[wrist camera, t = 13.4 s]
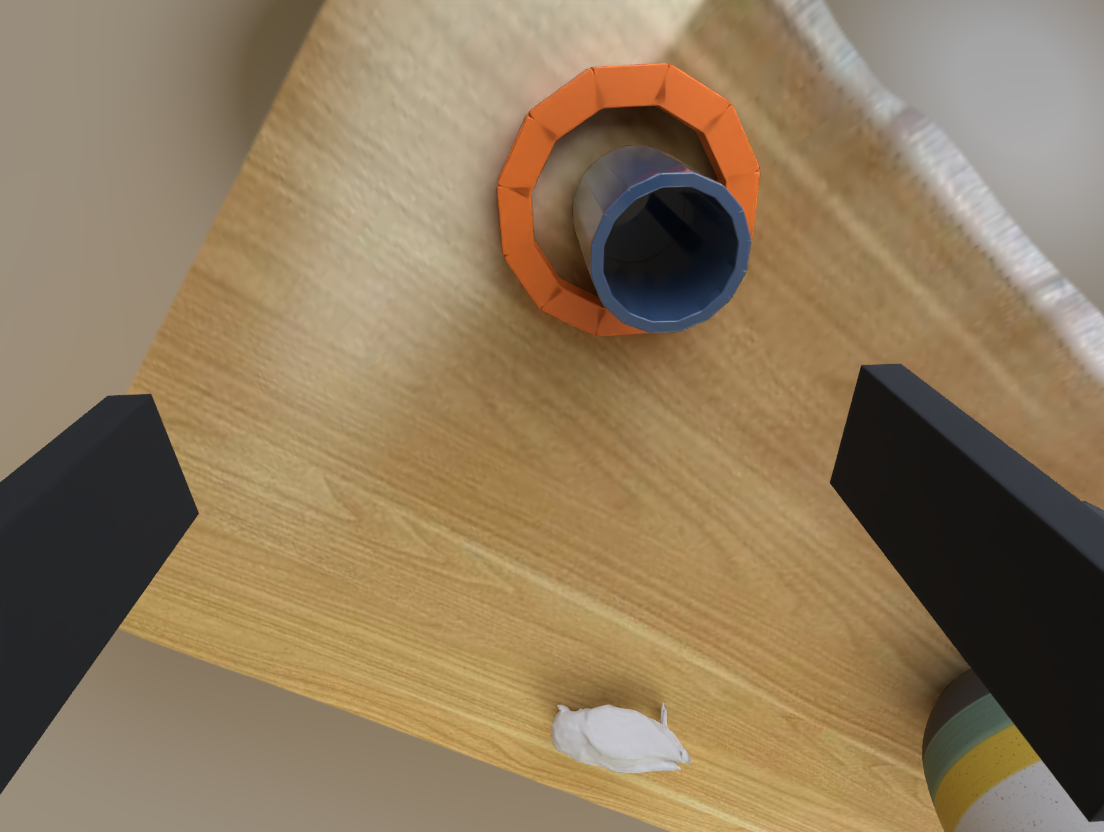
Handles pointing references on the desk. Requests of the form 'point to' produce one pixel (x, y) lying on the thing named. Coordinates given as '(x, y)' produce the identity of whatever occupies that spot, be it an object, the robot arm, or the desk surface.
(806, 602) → the desk surface
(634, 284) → the cup
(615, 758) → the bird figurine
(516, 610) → the desk surface
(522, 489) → the desk surface
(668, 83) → the ring
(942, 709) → the planter
